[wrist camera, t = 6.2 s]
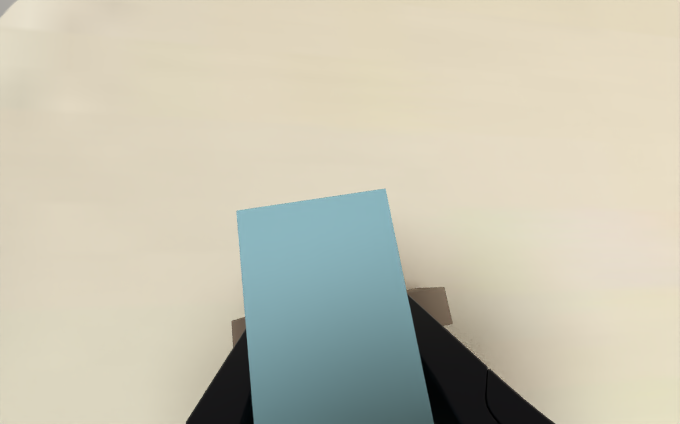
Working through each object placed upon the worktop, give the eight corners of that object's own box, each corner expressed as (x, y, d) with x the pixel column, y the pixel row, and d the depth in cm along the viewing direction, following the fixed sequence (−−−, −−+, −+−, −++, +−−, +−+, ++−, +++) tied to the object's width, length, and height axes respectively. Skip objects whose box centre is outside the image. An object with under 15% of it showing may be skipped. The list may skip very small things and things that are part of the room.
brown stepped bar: (420, 288, 22) (444, 287, 18) (426, 316, 22) (452, 324, 17) (254, 314, 22) (231, 320, 17) (256, 344, 21) (233, 360, 16)
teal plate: (379, 399, 14) (477, 632, 5) (315, 411, 14) (274, 679, 4) (354, 250, 16) (385, 188, 6) (296, 259, 16) (236, 210, 6)
